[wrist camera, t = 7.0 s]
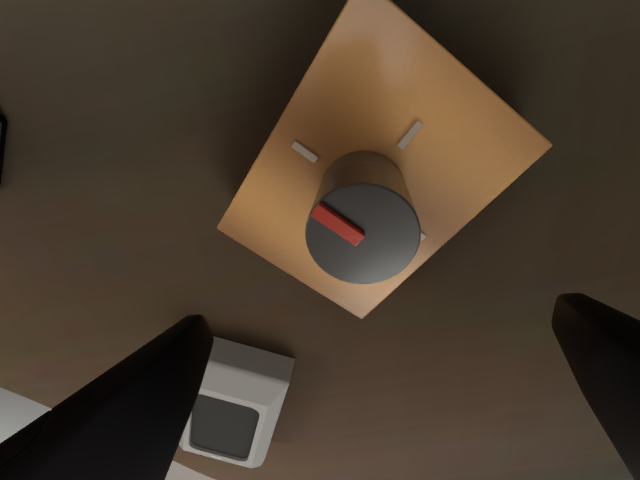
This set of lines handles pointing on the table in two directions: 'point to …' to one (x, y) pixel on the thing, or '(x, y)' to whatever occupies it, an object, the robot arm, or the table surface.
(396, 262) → the volume knob
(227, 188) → the table surface
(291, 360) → the grey flat bevelled block
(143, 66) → the table surface
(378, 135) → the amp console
